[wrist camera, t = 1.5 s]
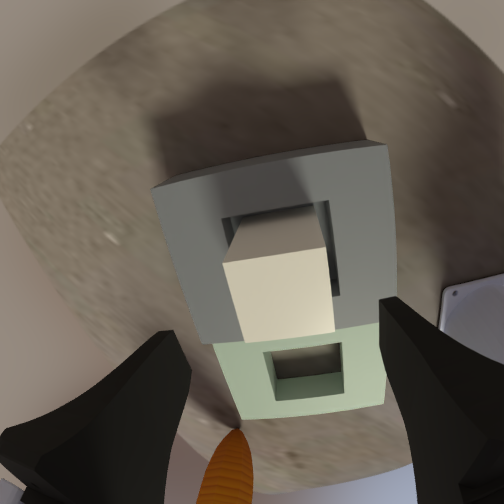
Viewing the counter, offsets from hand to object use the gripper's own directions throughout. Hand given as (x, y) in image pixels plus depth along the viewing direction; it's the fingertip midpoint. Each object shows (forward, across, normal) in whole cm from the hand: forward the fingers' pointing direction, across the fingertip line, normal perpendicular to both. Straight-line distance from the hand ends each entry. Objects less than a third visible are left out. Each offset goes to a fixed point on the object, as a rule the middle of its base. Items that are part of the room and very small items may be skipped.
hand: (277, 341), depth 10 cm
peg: (+8, 0, 0) cm, 9 cm away
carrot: (+11, +8, +20) cm, 24 cm away
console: (+10, 0, +5) cm, 12 cm away
